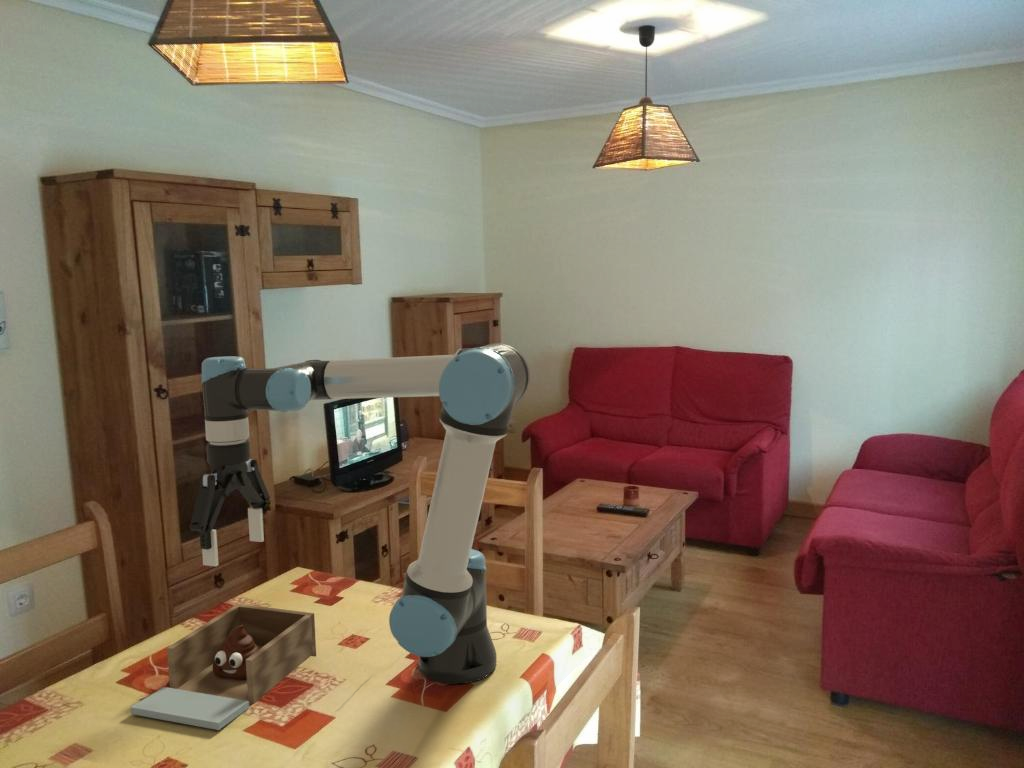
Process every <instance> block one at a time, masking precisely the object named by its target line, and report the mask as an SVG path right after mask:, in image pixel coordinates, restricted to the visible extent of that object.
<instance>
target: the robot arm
mask: <svg viewBox="0 0 1024 768" xmlns="http://www.w3.org/2000/svg"><path fill="white" fill-rule="evenodd" d="M530 377H531V375H530V368H529V365H528V362H527V360H526V359H525V357H524V356H523V355H522V354H521V352H520V351H519V350H517V349H516V348H515V347H513V346H511V345H510V344H509V345H508V344H506V343H505V344H504V343H497V342H496V343H489V344H485V345H482V346H477V347H472V348H470V347H469V348H459V349H458V350H456V352H455V353H454V354H441V355H421V356H420V355H419V356H415V355H414V356H399V357H398V356H397V357H376V358H375V357H374V358H358V359H357V358H355V359H353V358H352V359H334V360H325V359H310V360H309V359H308V360H306V361H304V362H298V363H294V364H288V365H283V366H278V367H274V368H249V367H247V366H246V363H245V359H244V357H242V356H236V355H235V356H234V355H233V356H230V355H229V356H225V355H224V356H214V357H213V356H212V357H207V358H205V359H204V360H203V361H202V362H201V382H200V384H201V390H202V398H203V408H204V427H205V428H204V430H205V440H206V441H207V442H208V443H207V444H206V446H205V449H206V461H207V463H208V464H209V465H210V466H211V467H212V469H211V473H209V474H206V473H205V474H204V473H201V474H200V475H199V477H198V480H199V482H198V484H199V485H198V491H197V495H196V499H195V503H194V508H193V512H192V515H191V520H190V523H189V530H190V531H197V532H198V533H199V544H200V548H201V553H202V555H201V556H202V565H203V566H207V567H208V566H209V567H218V566H220V564H219V552H218V551H219V550H218V535H217V529H214V526H215V524H216V522H217V520H218V517H219V514H220V511H221V510H222V507H223V504H224V502H225V499H226V498H228V497H229V495H230V494H231V493H233V492H234V491H235V490H237V491H239V492H240V494H241V495H242V496H243V498H244V499H245V500H246V501H247V503H248V505H250V507H248V508H247V517H248V532H249V542H258V543H263V542H265V537H264V536H265V535H264V509H263V508H268V506H269V502H270V500H271V498H270V497H271V496H270V494H269V492H268V489H267V487H266V485H265V482H264V480H263V477H262V474H261V472H260V470H259V464H258V459H252V458H251V446H250V444H251V443H250V441H249V440H248V439H249V437H250V425H249V424H250V423H249V414H248V413H249V411H250V410H251V411H271V412H272V411H274V412H275V411H276V412H281V413H287V412H292V411H293V412H296V411H301V410H303V409H304V408H305V407H306V405H307V404H308V403H309V402H310V401H324V400H326V401H327V400H335V399H336V400H340V399H343V400H344V399H373V398H374V399H375V398H377V399H378V398H379V399H380V398H408V397H409V398H410V397H411V398H413V397H414V398H415V397H416V398H417V397H418V398H419V397H439V400H440V402H441V403H442V405H441V411H440V415H439V416H440V417H439V422H440V424H441V425H442V426H443V428H444V429H445V434H444V435H445V436H444V439H443V440H444V441H443V444H442V449H441V453H440V454H441V455H440V457H439V458H440V459H439V463H438V467H437V472H436V476H435V481H434V486H433V491H432V495H431V500H430V504H429V509H428V514H427V518H426V524H425V526H424V527H425V528H424V532H423V537H422V542H421V546H420V551H419V555H418V559H416V560H415V561H412V562H411V563H410V564H409V565H408V566H407V570H406V573H405V578H404V581H403V582H404V583H403V586H402V587H403V588H402V592H401V595H400V598H398V599H397V600H396V601H395V603H394V604H393V606H392V608H391V610H390V613H389V616H388V617H389V618H388V619H389V620H388V621H389V622H388V623H389V629H390V633H391V635H392V636H393V638H394V639H395V640H396V641H397V644H398V645H399V646H400V647H401V648H402V649H404V651H406V652H408V653H410V654H412V655H415V656H417V657H418V669H419V670H418V671H419V672H420V673H421V675H422V676H423V677H425V678H426V679H427V680H430V681H432V682H436V683H440V684H445V683H448V684H447V685H458V684H457V683H463V684H466V683H465V682H470V683H472V682H471V681H474V682H476V681H475V680H477V681H479V680H478V679H480V680H482V679H484V678H483V677H485V676H486V675H488V674H490V673H491V672H492V671H493V670H494V669H496V668H497V664H496V663H498V662H497V650H496V648H495V645H494V642H493V639H492V636H491V632H489V628H488V620H487V570H488V569H487V566H486V565H487V564H486V558H485V555H484V554H483V553H482V552H481V551H479V550H476V549H473V548H472V547H473V543H474V539H475V535H476V532H477V531H476V530H477V526H478V522H479V517H480V513H481V510H482V504H483V500H484V495H485V490H486V486H487V482H488V479H489V478H488V477H489V473H490V469H491V466H492V460H493V457H494V452H495V447H496V443H497V442H498V441H500V440H501V439H503V438H505V437H506V436H507V434H508V431H509V427H510V423H511V420H512V419H511V418H512V415H513V411H514V406H515V405H516V403H518V402H519V401H520V400H521V399H522V398H523V397H524V395H525V394H526V392H527V390H528V387H529V383H530ZM495 667H496V668H495ZM494 671H495V670H494ZM494 671H493V672H494ZM493 672H492V673H493ZM492 673H491V674H492ZM491 674H490V675H491ZM488 676H489V675H488ZM486 677H487V676H486ZM486 677H485V678H486ZM481 678H482V679H481Z"/></svg>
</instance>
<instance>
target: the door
mask: <svg viewBox="0 0 1024 768" xmlns="http://www.w3.org/2000/svg"><path fill="white" fill-rule="evenodd" d="M249 708H250V703H249V701H245V700H239V699H233V698H227V697H221V696H215V695H209V694H203V693H198V692H192V691H186V690H180V689H174V688H170V687H168V686H163V687H161V688H160V689H157V690H156V691H155V692H153V693H151V694H150V695H148V696H147V697H145V698H143V699H142V700H140V701H139V702H136V703H134V704H133V705H131V706H130V714H131V715H134V716H135V715H136V716H140V717H145V718H151V719H157V720H161V721H167V722H173V723H178V724H184V725H189V726H194V727H195V726H196V727H200V728H205V729H210V730H217V731H220V730H222V728H224V727H225V726H227V725H228V724H229V723H231V722H232V721H233V720H235V719H236V718H237V717H239V716H240V715H242V713H244V712H245V711H247V710H248V709H249Z"/></svg>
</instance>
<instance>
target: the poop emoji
mask: <svg viewBox="0 0 1024 768" xmlns="http://www.w3.org/2000/svg"><path fill="white" fill-rule="evenodd" d="M258 650H259V648H258V647H257V645H256V644H255V643H254V641H253V638H252V637H251V636H250V635H248V634H247V633H246V631H245V630H244V628H243V625H240V626H237V627H236V628H234V629H233V630H232V631H231V632H230V633H229V635H228V637H227V638H226V639H225V640H224V642H223V644H222V646H220V648H219V649H218V651H217V654H216V656H215V661H214V663H213V672H214V674H215V675H216V676H218V677H222V678H225V677H230V678H233V679H238V680H244V679H247V673H246V659H247V658H249V657H250V656H251V655H253V654H254V653H255V652H257V651H258Z"/></svg>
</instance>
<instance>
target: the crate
mask: <svg viewBox="0 0 1024 768" xmlns="http://www.w3.org/2000/svg"><path fill="white" fill-rule="evenodd" d="M315 621H316V620H315V613H314V612H306V611H301V610H300V611H299V610H293V609H282V608H275V607H267V606H258V605H251V604H242V603H236V604H235V605H233V606H232V607H230V608H228V609H227V610H225V611H224V612H222V613H221V614H218V615H217V616H216V617H214V618H212V619H211V620H209V621H208V622H206V623H204V624H203V625H201V626H200V627H198V628H196V629H194V630H192V632H189V633H188V634H186V635H185V636H184V637H182V638H180V639H178V640H177V641H175V642H174V643H173V644H171V645H169V646H167V647H166V652H167V653H166V655H167V664H168V665H167V666H168V667H167V668H168V680H169V688H174V689H180V690H186V691H192V692H198V693H203V694H209V695H215V696H221V697H227V698H233V699H239V700H245V701H249V704H255V703H257V702H258V701H259V700H260V699H261V698H263V697H264V696H265V695H266V694H267V693H269V692H270V691H271V690H272V689H273V688H275V687H276V686H277V685H278V684H279V683H281V682H282V681H283V680H284V679H285V678H287V677H288V676H289V675H290V674H291V673H292V672H294V670H296V669H297V668H299V666H300V665H302V664H303V663H304V662H306V660H307V659H309V658H311V657H315V658H316V657H317V645H316V644H317V643H316V641H317V639H316V625H315V624H316V622H315ZM240 625H243V628H244V630H245V631H246V633H247V634H248V635H250V636H251V637H252V638H253V641H254V643H255V644H256V645H257V647H258V648H259V650H258V651H257V652H255V653H254V654H253V655H251V656H250V657H249V658H247V659H246V673H247V679H244V680H238V679H233V678H230V677H225V678H222V677H218V676H216V675H215V674H214V672H213V663H214V661H215V656H216V654H217V651H218V649H219V648H220V646H222V644H223V642H224V640H225V639H226V638H227V637H228V635H229V633H230V632H231V631H232V630H233V629H234V628H236V627H237V626H240Z"/></svg>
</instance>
